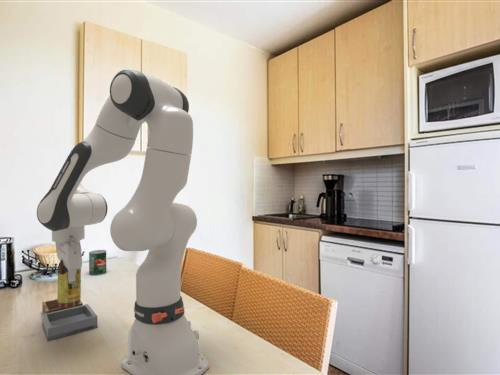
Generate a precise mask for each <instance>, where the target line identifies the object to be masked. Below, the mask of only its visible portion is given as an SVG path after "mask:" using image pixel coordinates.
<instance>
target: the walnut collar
mask: <svg viewBox="0 0 500 375" xmlns="http://www.w3.org/2000/svg"><path fill="white" fill-rule="evenodd" d="M41 304H42V306H41V307H42V312H41V313H42V314H46V313H51V312H55V311H60V310H64V308H59V307H58V298H56V299H52V300H51V299H50V300H47V301H43V302H41ZM81 305H84V303H83V301H81V299H80V303H79V304H78V305H77V306H81ZM77 306H75V307H77ZM71 308H73V307H71ZM66 309H68V308H66Z"/></svg>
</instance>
